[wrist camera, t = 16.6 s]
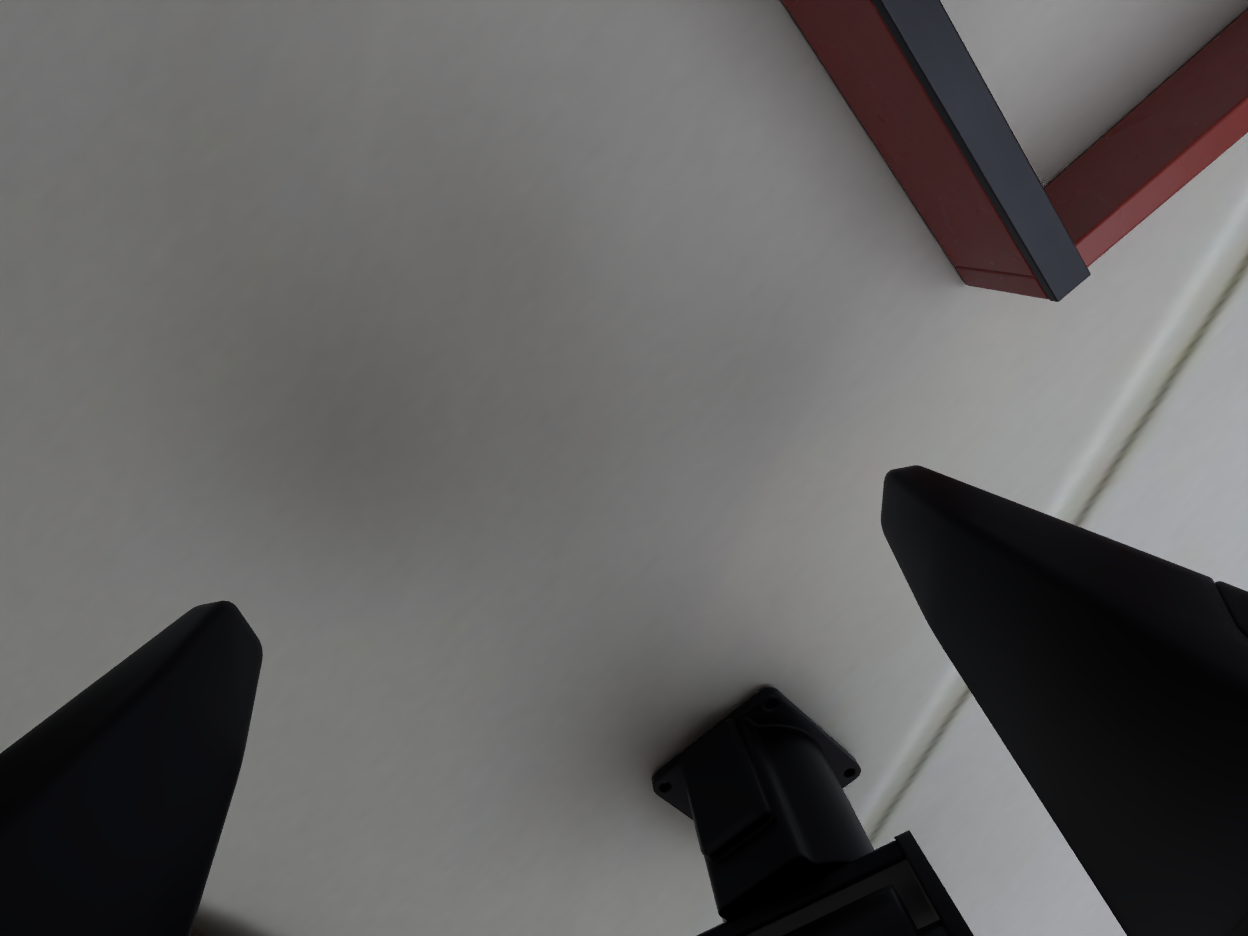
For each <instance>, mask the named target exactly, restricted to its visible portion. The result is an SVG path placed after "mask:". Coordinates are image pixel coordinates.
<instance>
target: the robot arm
mask: <svg viewBox="0 0 1248 936" xmlns="http://www.w3.org/2000/svg"><path fill="white" fill-rule="evenodd" d="M881 525H882V529H883V532H884V535H885V537H886V539H887V541H888V543H889V545H890V547H891V550H892V552H893V554H894V556H895V558H896V560H897V562H898V564H899V566H900V568H901V570H902V572H903V574H904V576H905V578H906V580H907V582H908V584H909V586H910V588H911V590H912V592H913V594H914V597H915V599H916V601H917V603H918V605H919V607H920V609H921V611H922V613H923V615H924V617H925V618H926V620H927V622H928V624H929V626H930V628H931V629H932V631H933V633H934V634H935V636H936V638H937V639H938V641H939V643H940V644H941V646H942V647H943V649H944V650H945V652H946V654H947V655H948V657H949V658H950V660H951V661H952V663H953V665H954V666H955V668H956V669H957V671H958V672H959V674H960V675H961V677H962V679H963V680H964V682H965V683H966V685H967V686H968V688H969V690H970V691H971V693H972V694H973V696H974V697H975V699H976V700H977V702H978V704H979V705H980V707H981V708H982V710H983V711H984V713H985V714H986V716H987V718H988V719H989V721H990V722H991V724H992V725H993V727H994V729H995V730H996V732H997V733H998V735H999V736H1000V738H1001V739H1002V741H1003V743H1004V744H1005V746H1006V747H1007V749H1008V750H1009V752H1010V753H1011V755H1012V757H1013V758H1014V760H1015V761H1016V763H1017V764H1018V766H1019V768H1020V769H1021V771H1022V772H1023V774H1024V775H1025V777H1026V778H1027V780H1028V782H1029V783H1030V785H1031V786H1032V788H1033V789H1034V791H1035V793H1036V794H1037V796H1038V797H1039V799H1040V800H1041V802H1042V803H1043V805H1044V807H1045V808H1046V810H1047V811H1048V813H1049V814H1050V816H1051V817H1052V819H1053V821H1054V822H1055V824H1056V825H1057V827H1058V828H1059V830H1060V832H1061V833H1062V835H1063V836H1064V838H1065V839H1066V841H1067V842H1068V844H1069V846H1070V847H1071V849H1072V850H1073V852H1074V853H1075V855H1076V857H1077V858H1078V860H1079V861H1080V863H1081V864H1082V866H1083V867H1084V869H1085V871H1086V872H1087V874H1088V875H1089V877H1090V878H1091V880H1092V881H1093V883H1094V885H1095V886H1096V888H1097V889H1098V891H1099V892H1100V894H1101V896H1102V897H1103V899H1104V900H1105V902H1106V903H1107V905H1108V906H1109V908H1110V910H1111V911H1112V913H1113V914H1114V916H1115V917H1116V919H1117V920H1118V922H1119V924H1120V925H1121V927H1122V928H1123V930H1124V931H1125V933H1126V935H1127V936H1248V592H1247V591H1245V590H1242V589H1240V588H1237V587H1234V586H1232V585H1229V584H1227V583H1224V582H1221V581H1218V582H1215V583H1214V581H1213V579H1212V578H1210V577H1208V576H1205V575H1203V574H1200V573H1198V572H1195V571H1192V570H1190V569H1187V568H1185V567H1182V566H1179V565H1177V564H1174V563H1172V562H1169V561H1166V560H1164V559H1161V558H1159V557H1156V556H1153V555H1151V554H1148V553H1146V552H1143V551H1140V550H1138V549H1135V548H1133V547H1130V546H1127V545H1125V544H1122V543H1120V542H1117V541H1114V540H1112V539H1109V538H1107V537H1104V536H1101V535H1099V534H1096V533H1094V532H1091V531H1088V530H1086V529H1083V528H1081V527H1078V526H1075V525H1073V524H1070V523H1068V522H1065V521H1062V520H1060V519H1057V518H1055V517H1052V516H1049V515H1047V514H1044V513H1042V512H1039V511H1036V510H1034V509H1031V508H1029V507H1026V506H1023V505H1021V504H1018V503H1016V502H1013V501H1010V500H1008V499H1005V498H1003V497H1000V496H997V495H995V494H992V493H990V492H987V491H984V490H982V489H979V488H977V487H974V486H971V485H969V484H966V483H964V482H961V481H958V480H956V479H953V478H951V477H948V476H945V475H943V474H940V473H937V472H935V471H932V470H930V469H927V468H924V467H922V466H917V465H914V466H909V467H904V468H898V469H893V470H890V471H889V472H888V473H887V474H886V476H885V480H884V488H883V499H882V510H881ZM262 657H263V654H262V646H261V643H260V641H259V639H258V637H257V636H256V634H255V633H254V631H253V630H252V628H251V627H250V625H249V624H248V623H247V621H246V620H245V618H244V617H243V615H242V614H241V612H240V611H239V609H238V608H237V607H236V606H235V605H234V604H233V603H231V602H229V601H219V602H214V603H208V604H203V605H199V606H196V607H194V608H192V609H191V610H189V611H188V612H187V613H185V614H184V615H183V616H181V617H180V618H179V619H178V620H176V621H175V622H174V623H172V624H171V625H170V626H168V627H167V628H166V629H164V630H163V631H162V632H160V633H159V634H158V635H156V636H155V637H154V638H152V639H151V640H150V641H148V642H147V643H146V644H144V645H143V646H142V647H141V648H139V649H138V650H137V651H135V652H134V653H133V654H131V655H130V656H129V657H127V658H126V659H125V660H123V661H122V662H121V663H119V664H118V665H117V666H115V667H114V668H113V669H111V670H110V671H109V672H108V673H106V674H105V675H104V676H102V677H101V678H100V679H98V680H97V681H96V682H94V683H93V684H92V685H90V686H89V687H88V688H86V689H85V690H84V691H82V692H81V693H80V694H78V695H77V696H76V697H75V698H73V699H72V700H71V701H69V702H68V703H67V704H65V705H64V706H63V707H61V708H60V709H59V710H57V711H56V712H55V713H53V714H52V715H51V716H49V717H48V718H47V719H45V720H44V721H43V722H42V723H40V724H39V725H38V726H36V727H35V728H34V729H32V730H31V731H30V732H28V733H27V734H26V735H24V736H23V737H22V738H20V739H19V740H18V741H16V742H15V743H14V744H12V745H11V746H10V747H8V748H7V749H6V750H5V751H3V752H2V753H1V754H0V936H190V934H191V931H192V927H193V924H194V921H195V918H196V914H197V911H198V908H199V904H200V901H201V898H202V895H203V891H204V888H205V885H206V881H207V878H208V875H209V872H210V868H211V865H212V862H213V858H214V855H215V852H216V849H217V845H218V842H219V839H220V835H221V832H222V829H223V826H224V822H225V819H226V816H227V812H228V809H229V806H230V803H231V799H232V796H233V793H234V789H235V786H236V783H237V779H238V776H239V772H240V768H241V765H242V760H243V756H244V751H245V747H246V742H247V736H248V731H249V726H250V721H251V716H252V710H253V705H254V700H255V695H256V690H257V684H258V679H259V674H260V669H261V664H262ZM769 700H772V701H770V702H768V703H766V702H767V701H769ZM860 773H861V768H860V766H859V765H858V763H857V761H856V760H855V758H854V757H853V756H851V755H850V754H849V753H848V752H847V751H846V750H845V749H844V748H842V747H841V746H840V745H839V744H838V743H837V742H836V741H835V740H833V739H832V738H831V737H830V736H829V735H828V734H827V733H825V732H824V731H823V730H822V729H821V728H820V727H819V726H818V725H816V724H815V723H814V722H813V721H812V720H811V719H810V718H808V717H807V716H806V715H805V714H804V713H803V712H802V711H801V710H799V709H798V708H797V707H796V706H795V705H794V704H793V703H792V702H790V701H789V700H788V699H787V698H786V697H785V696H784V695H782V694H781V693H780V692H779V691H778V690H777V689H775V688H770V687H768V688H764V689H762V690H760V691H759V692H758V693H756V694H755V695H754V696H753V697H751V698H750V699H749V700H747V701H746V702H745V703H744V704H742V705H741V706H740V707H739V708H737V709H736V710H735V711H733V712H732V713H731V714H730V715H728V716H727V717H726V718H725V719H723V720H722V721H721V722H720V723H718V724H717V725H716V726H714V727H713V728H712V729H711V730H709V731H708V732H707V733H706V734H704V735H703V736H702V737H700V738H699V739H698V740H697V741H695V742H694V743H693V744H692V745H690V746H689V747H688V748H687V749H685V750H684V751H683V752H681V753H680V754H679V755H678V756H676V757H675V758H674V759H673V760H671V761H670V762H669V763H668V764H666V765H665V766H664V767H662V768H661V769H660V770H659V771H657V772H656V773H655V774H654V775H653V777H652V784H653V790H654V792H655V793H656V794H657V795H658V796H660V797H661V798H662V799H664V800H665V801H667V802H668V803H670V804H671V805H672V806H674V807H675V808H677V809H678V810H680V811H681V812H682V813H684V814H685V815H687V816H688V817H689V818H691V819H692V820H694V824H695V828H696V832H697V836H698V840H699V844H700V848H701V852H702V853H703V855H704V858H705V862H706V865H707V869H708V873H709V877H710V881H711V885H712V889H713V893H714V897H715V901H716V905H717V909H718V913H719V915H720V916H721V917H722V918H723V922H724V923H722V924H720V925H718V926H716V927H714V928H712V929H710V930H707V931H705V932H703V933H701V934H699V935H697V936H974V935H973V934H972V932H971V930H970V929H969V927H968V925H967V924H966V922H965V921H964V919H963V917H962V916H961V914H960V912H959V911H958V909H957V907H956V906H955V904H954V903H953V901H952V899H951V898H950V896H949V894H948V893H947V891H946V889H945V888H944V886H943V885H942V883H941V881H940V880H939V878H938V876H937V875H936V873H935V872H934V870H933V868H932V867H931V865H930V863H929V862H928V860H927V858H926V857H925V855H924V854H923V852H922V850H921V849H920V847H919V845H918V844H917V842H916V840H915V839H914V837H913V836H912V834H911V832H910V831H909V830H908V831H906V832H904V833H902V834H900V835H898V836H896V837H894V838H895V839H896V840H895V841H893V842H891V843H889V844H887V845H885V846H883V847H880V848H878V849H876V850H874V848H873V846H872V844H871V843H870V841H869V839H868V837H867V835H866V833H865V831H864V829H863V827H862V825H861V823H860V821H859V820H858V818H857V816H856V814H855V812H854V810H853V808H852V806H851V804H850V802H849V800H848V798H847V796H846V795H845V793H844V791H843V789H842V788H844V787H845V786H846V785H848V784H849V783H851V782H852V781H853V780H855V779H856V778H857V777H858V776H859V775H860ZM664 782H666V783H664Z"/></svg>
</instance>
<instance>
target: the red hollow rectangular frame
mask: <svg viewBox="0 0 1248 936" xmlns="http://www.w3.org/2000/svg"><path fill="white" fill-rule="evenodd" d="M782 1H783V3H784V5H785V6H786V8H787V9H788V11H789V12H790V14H791V15H792V17H793V18H794V20H795V21H796V23H797V25H798V26H799V28H800V29H801V31H802V32H803V34H804V35H805V37H806V38H807V40H808V42H809V43H810V45H811V46H812V48H813V49H814V51H815V52H816V54H817V55H818V57H819V58H820V60H821V62H822V63H823V65H824V66H825V68H826V69H827V71H828V72H829V74H830V75H831V77H832V79H833V80H834V82H835V83H836V85H837V86H838V88H839V89H840V91H841V92H842V94H843V95H844V97H845V99H846V100H847V102H848V103H849V105H850V106H851V108H852V109H853V111H854V112H855V114H856V115H857V117H858V119H859V120H860V122H861V123H862V125H863V126H864V128H865V129H866V131H867V132H868V134H869V136H870V137H871V139H872V140H873V142H874V143H875V145H876V146H877V148H878V149H879V151H880V152H881V154H882V156H883V157H884V159H885V160H886V162H887V163H888V165H889V166H890V168H891V169H892V171H893V173H894V174H895V176H896V177H897V179H898V180H899V182H900V183H901V185H902V186H903V188H904V189H905V191H906V193H907V194H908V196H909V197H910V199H911V200H912V202H913V203H914V205H915V206H916V208H917V210H918V211H919V213H920V214H921V216H922V217H923V219H924V220H925V222H926V223H927V225H928V226H929V228H930V230H931V231H932V233H933V234H934V236H935V237H936V239H937V240H938V242H939V243H940V245H941V247H942V248H943V250H944V251H945V253H946V254H947V256H948V257H949V259H950V260H951V262H952V263H953V265H954V266H956V269H957V271H958V272H959V274H960V275H961V277H962V279H963V280H964V282H965V283H966V285H969V286H974V287H980V288H986V289H992V290H997V291H1003V292H1009V293H1015V294H1020V295H1026V296H1032V297H1038V298H1043V299H1049V300H1050V301H1055V302H1058V301H1060V300H1061V299H1062V298H1063V297H1065V296H1066V295H1067V294H1068V293H1069V292H1071V291H1072V290H1073V289H1074V288H1075V287H1077V286H1078V285H1079V284H1080V283H1081V282H1082V281H1084V280H1085V279H1086V278H1087V277H1088V276H1090V272H1089V270H1088V268H1087V267H1088V266H1090V265H1091V264H1092V263H1093V262H1094V261H1095V260H1097V259H1098V258H1099V257H1100V256H1101V255H1103V254H1104V253H1105V252H1106V251H1107V250H1109V249H1110V248H1111V247H1112V246H1113V245H1114V244H1116V243H1117V242H1118V241H1119V240H1120V239H1122V238H1123V237H1124V236H1125V235H1126V234H1128V233H1129V232H1130V231H1131V230H1132V229H1133V228H1135V227H1136V226H1137V225H1138V224H1139V223H1141V222H1142V221H1143V220H1144V219H1145V218H1147V217H1148V216H1149V215H1150V214H1151V213H1152V212H1154V211H1155V210H1156V209H1157V208H1158V207H1160V206H1161V205H1162V204H1163V203H1164V202H1166V201H1167V200H1168V199H1169V198H1170V197H1171V196H1173V195H1174V194H1175V193H1176V192H1177V191H1179V190H1180V189H1181V188H1182V187H1183V186H1185V185H1186V184H1187V183H1188V182H1189V181H1190V180H1192V179H1193V178H1194V177H1195V176H1196V175H1198V174H1199V173H1200V172H1201V171H1202V170H1204V169H1205V168H1206V167H1207V166H1208V165H1209V164H1211V163H1212V162H1213V161H1214V160H1215V159H1217V158H1218V157H1219V156H1220V155H1221V154H1223V153H1224V152H1225V151H1226V150H1227V149H1228V148H1230V147H1231V146H1232V145H1233V144H1234V143H1236V142H1237V141H1238V140H1239V139H1240V138H1241V137H1243V136H1244V135H1245V134H1246V133H1247V132H1248V9H1247V10H1246V11H1245V12H1244V13H1243V14H1242V15H1240V16H1239V17H1238V18H1237V19H1236V20H1235V21H1234V22H1232V23H1231V24H1230V25H1229V26H1228V27H1227V28H1226V29H1225V30H1223V31H1222V32H1221V33H1220V34H1219V35H1218V36H1217V37H1215V38H1214V39H1213V40H1212V41H1211V42H1210V43H1209V44H1207V45H1206V46H1205V47H1204V48H1203V49H1202V50H1201V51H1200V52H1198V53H1197V54H1196V55H1195V56H1194V57H1193V58H1192V59H1190V60H1189V61H1188V62H1187V63H1186V64H1185V65H1184V66H1183V67H1181V68H1180V69H1179V70H1178V71H1177V72H1176V73H1175V74H1173V75H1172V76H1171V77H1170V78H1169V79H1168V80H1167V81H1165V82H1164V83H1163V84H1162V85H1161V86H1160V87H1159V88H1158V89H1156V90H1155V91H1154V92H1153V93H1152V94H1151V95H1150V96H1148V97H1147V98H1146V99H1145V100H1144V101H1143V102H1142V103H1140V104H1139V105H1138V106H1137V107H1136V108H1135V109H1134V110H1133V111H1131V112H1130V113H1129V114H1128V115H1127V116H1126V117H1125V118H1123V119H1122V120H1121V121H1120V122H1119V123H1118V124H1117V125H1115V126H1114V127H1113V128H1112V129H1111V130H1110V131H1109V132H1108V133H1106V134H1105V135H1104V136H1103V137H1102V138H1101V139H1100V140H1098V141H1097V142H1096V143H1095V144H1094V145H1093V146H1092V147H1091V148H1089V149H1088V150H1087V151H1086V152H1085V153H1084V154H1083V155H1081V156H1080V157H1079V158H1078V159H1077V160H1076V161H1075V162H1073V163H1072V164H1071V165H1070V166H1069V167H1068V168H1067V169H1066V170H1064V171H1063V172H1062V173H1061V174H1060V175H1059V176H1058V177H1056V178H1055V179H1054V180H1053V181H1052V182H1051V183H1050V184H1048V185H1047V186H1046V187H1045V188H1043V187H1042V185H1041V183H1040V181H1039V179H1038V178H1037V176H1036V174H1035V172H1034V170H1033V168H1032V167H1031V165H1030V163H1029V161H1028V159H1027V158H1026V156H1025V154H1024V152H1023V150H1022V149H1021V147H1020V145H1019V143H1018V141H1017V139H1016V138H1015V136H1014V134H1013V132H1012V130H1011V129H1010V127H1009V125H1008V123H1007V121H1006V120H1005V118H1004V116H1003V114H1002V112H1001V110H1000V109H999V107H998V105H997V103H996V101H995V100H994V98H993V96H992V94H991V92H990V91H989V89H988V87H987V85H986V83H985V81H984V80H983V78H982V76H981V74H980V72H979V71H978V69H977V67H976V65H975V63H974V62H973V60H972V58H971V56H970V54H969V52H968V51H967V49H966V47H965V45H964V43H963V42H962V40H961V38H960V36H959V34H958V33H957V31H956V29H955V27H954V25H953V23H952V22H951V20H950V18H949V16H948V14H947V13H946V11H945V9H944V7H943V5H942V4H941V2H940V0H782Z"/></svg>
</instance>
